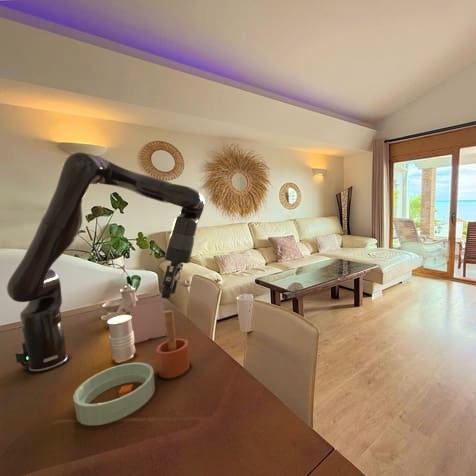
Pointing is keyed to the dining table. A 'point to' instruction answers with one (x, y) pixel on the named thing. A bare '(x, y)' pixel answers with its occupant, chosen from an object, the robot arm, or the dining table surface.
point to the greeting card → (147, 320)
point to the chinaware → (120, 304)
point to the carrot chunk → (125, 390)
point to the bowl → (117, 407)
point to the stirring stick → (170, 330)
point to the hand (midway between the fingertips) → (168, 295)
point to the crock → (172, 359)
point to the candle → (121, 338)
